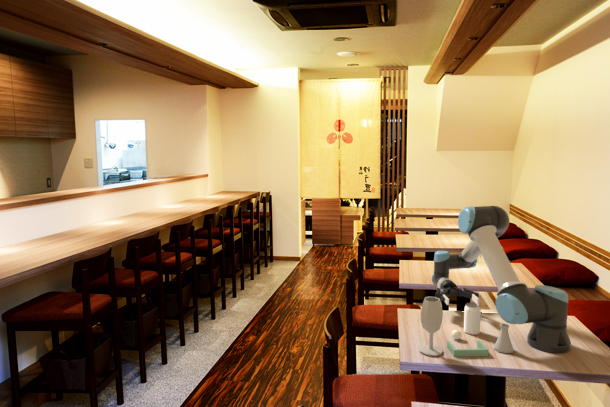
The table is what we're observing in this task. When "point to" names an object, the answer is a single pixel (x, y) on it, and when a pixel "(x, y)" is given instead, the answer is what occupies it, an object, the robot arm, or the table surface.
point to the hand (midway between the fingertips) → (463, 301)
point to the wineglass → (431, 323)
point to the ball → (456, 334)
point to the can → (472, 318)
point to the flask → (504, 340)
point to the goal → (468, 350)
